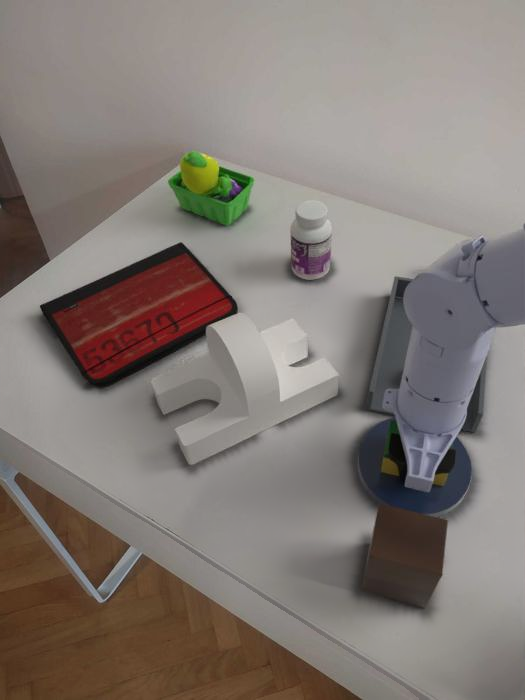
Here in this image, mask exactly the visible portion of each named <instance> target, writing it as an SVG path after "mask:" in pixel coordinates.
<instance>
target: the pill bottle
mask: <svg viewBox="0 0 525 700" xmlns="http://www.w3.org/2000/svg"><path fill="white" fill-rule="evenodd" d="M328 212H329V211H328V207H327V205H326V204H325V203H324V202H321V201H319V200H315V199H314V200H313V199H312V200H311V199H309V200H305V201H302V202H300V203H299V204H298V205H297V206H296V208H295V217H294V219H293V220H292V222H291V224H290V234H289V235H290V265H291V267H290V268H291V271H292V273H293V274H294V275H295V276H297V277H298V278H300V279H303V280H308V281H311V280H317V279H321V278H323V277H324V276H326V275H327V274H328V273H329V271H330V268H331V258H332V239H333V238H332V237H333V226H332V223H331V221H330V219H329V218H328V217H329V216H328V214H329V213H328Z"/></svg>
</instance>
